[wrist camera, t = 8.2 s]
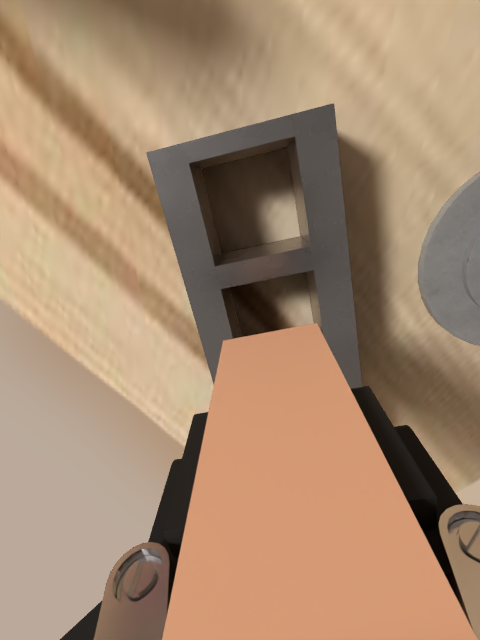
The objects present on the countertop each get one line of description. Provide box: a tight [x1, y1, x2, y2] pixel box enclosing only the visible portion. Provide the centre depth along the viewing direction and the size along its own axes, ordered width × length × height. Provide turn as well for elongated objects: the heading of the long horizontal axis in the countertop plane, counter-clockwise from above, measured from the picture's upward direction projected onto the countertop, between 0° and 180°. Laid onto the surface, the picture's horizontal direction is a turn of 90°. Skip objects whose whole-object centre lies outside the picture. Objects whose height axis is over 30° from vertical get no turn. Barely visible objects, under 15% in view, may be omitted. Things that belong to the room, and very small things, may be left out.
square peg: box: [162, 323, 478, 640], centre depth 8 cm, size 4×4×13 cm
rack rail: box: [146, 103, 362, 389], centre depth 21 cm, size 9×20×4 cm, turn 13°
